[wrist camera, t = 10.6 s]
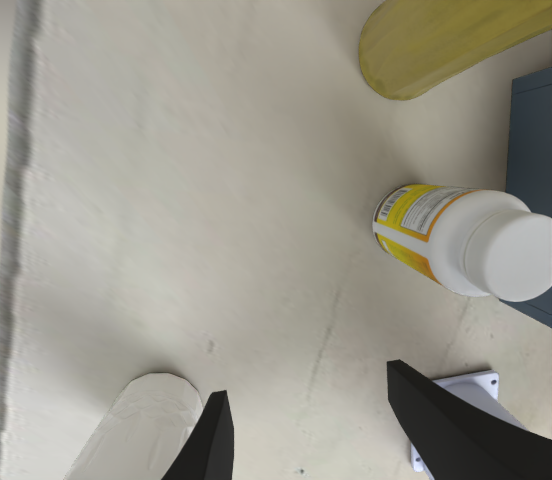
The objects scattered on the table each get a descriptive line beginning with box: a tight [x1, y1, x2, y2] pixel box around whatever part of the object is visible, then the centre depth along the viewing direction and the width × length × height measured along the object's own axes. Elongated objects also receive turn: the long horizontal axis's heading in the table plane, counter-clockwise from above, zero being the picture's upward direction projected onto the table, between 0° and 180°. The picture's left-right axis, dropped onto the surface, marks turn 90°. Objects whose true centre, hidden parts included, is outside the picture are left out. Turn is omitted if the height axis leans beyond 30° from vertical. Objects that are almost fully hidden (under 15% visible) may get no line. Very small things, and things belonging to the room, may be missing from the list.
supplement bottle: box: [372, 184, 552, 302], centre depth 18 cm, size 6×6×10 cm
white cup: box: [63, 373, 203, 480], centre depth 20 cm, size 8×8×10 cm
